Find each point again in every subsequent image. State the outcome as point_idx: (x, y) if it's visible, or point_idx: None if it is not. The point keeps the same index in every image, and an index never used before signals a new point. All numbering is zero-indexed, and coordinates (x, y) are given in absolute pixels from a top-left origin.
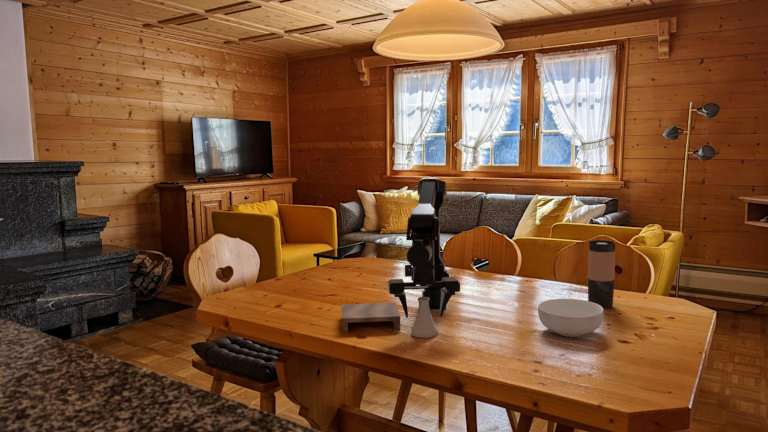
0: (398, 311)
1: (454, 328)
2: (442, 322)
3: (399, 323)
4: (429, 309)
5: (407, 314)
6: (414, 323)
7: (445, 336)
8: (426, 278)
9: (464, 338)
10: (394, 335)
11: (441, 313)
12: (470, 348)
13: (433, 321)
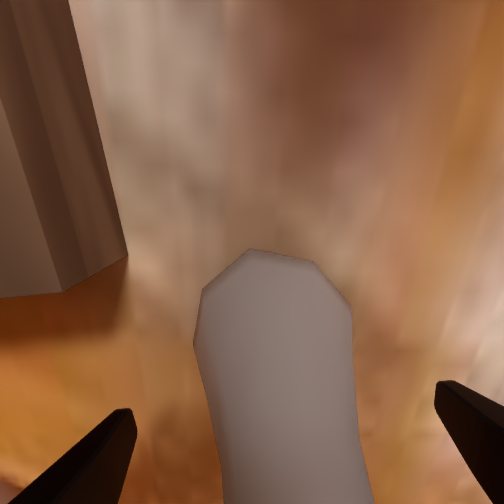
0: (5, 115)
1: (469, 223)
2: (426, 78)
3: (96, 270)
4: (364, 478)
5: (120, 484)
6: (206, 388)
7: (380, 354)
8: None
9: (468, 381)
10: (106, 335)
11: (466, 450)
12: (451, 485)
13: (352, 356)
